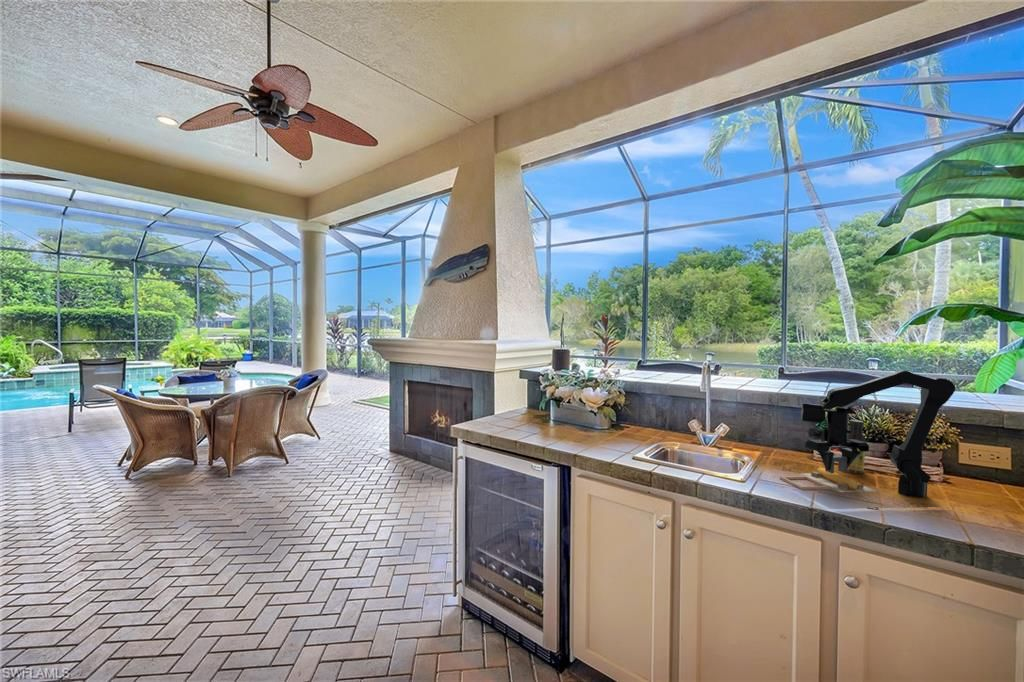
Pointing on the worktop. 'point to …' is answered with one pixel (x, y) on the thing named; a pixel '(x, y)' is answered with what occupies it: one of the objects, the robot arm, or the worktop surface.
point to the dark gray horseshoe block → (839, 464)
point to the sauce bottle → (858, 462)
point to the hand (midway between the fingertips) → (836, 470)
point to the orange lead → (838, 478)
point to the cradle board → (838, 484)
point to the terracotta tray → (822, 486)
